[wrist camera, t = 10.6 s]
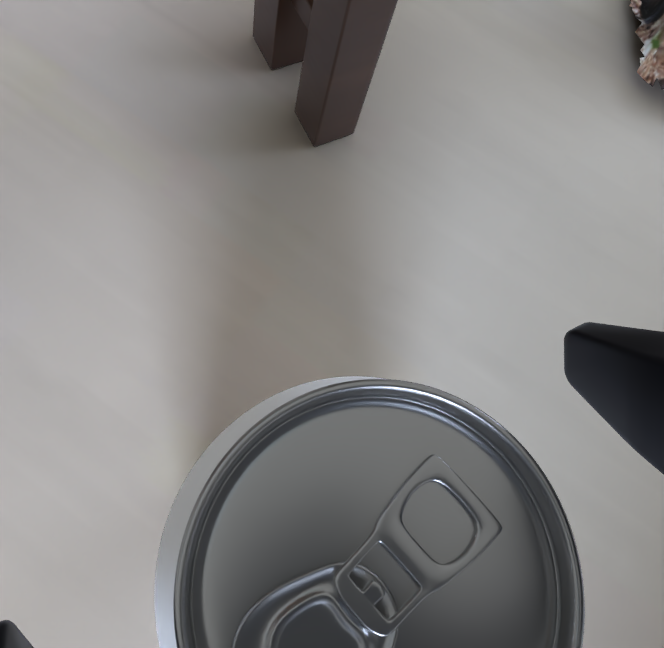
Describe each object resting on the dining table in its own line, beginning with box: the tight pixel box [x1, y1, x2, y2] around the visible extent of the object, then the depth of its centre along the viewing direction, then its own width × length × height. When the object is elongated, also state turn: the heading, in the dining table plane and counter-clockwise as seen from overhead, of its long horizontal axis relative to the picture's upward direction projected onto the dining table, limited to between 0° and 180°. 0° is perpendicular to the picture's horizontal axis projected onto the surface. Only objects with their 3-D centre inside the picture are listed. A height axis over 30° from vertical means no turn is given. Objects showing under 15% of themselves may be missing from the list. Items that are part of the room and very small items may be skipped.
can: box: [154, 376, 585, 648], centre depth 14 cm, size 6×6×12 cm
